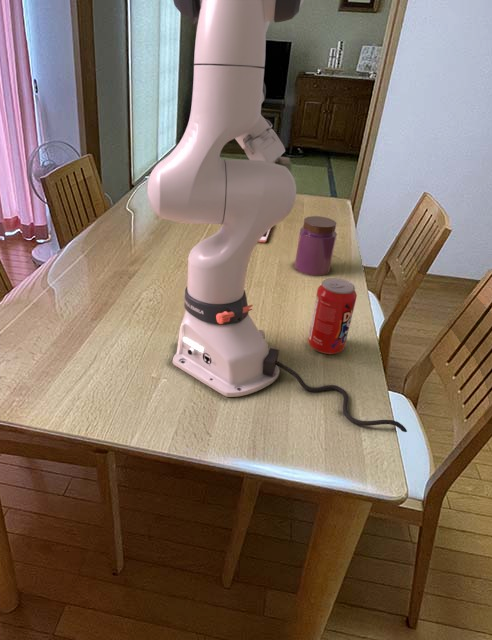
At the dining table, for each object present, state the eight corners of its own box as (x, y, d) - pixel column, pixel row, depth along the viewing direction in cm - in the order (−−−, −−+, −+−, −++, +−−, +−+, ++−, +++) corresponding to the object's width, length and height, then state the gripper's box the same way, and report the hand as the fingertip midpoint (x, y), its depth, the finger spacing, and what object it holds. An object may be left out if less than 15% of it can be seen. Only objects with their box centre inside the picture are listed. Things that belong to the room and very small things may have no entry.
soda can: (300, 339, 107) (311, 278, 99) (330, 334, 109) (343, 274, 102) (319, 359, 101) (333, 296, 93) (351, 353, 103) (366, 291, 95)
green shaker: (290, 195, 132) (296, 159, 127) (279, 198, 129) (284, 160, 124) (279, 191, 135) (284, 155, 130) (267, 193, 132) (272, 157, 127)
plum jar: (336, 270, 139) (346, 224, 132) (312, 278, 134) (321, 230, 127) (311, 258, 146) (319, 213, 139) (287, 265, 141) (294, 218, 133)
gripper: (251, 130, 117) (285, 177, 119) (270, 119, 133) (300, 160, 136) (232, 147, 120) (265, 192, 122) (253, 135, 137) (282, 174, 139)
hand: (284, 175), depth 129 cm, fingers closed on green shaker, 4 cm apart
